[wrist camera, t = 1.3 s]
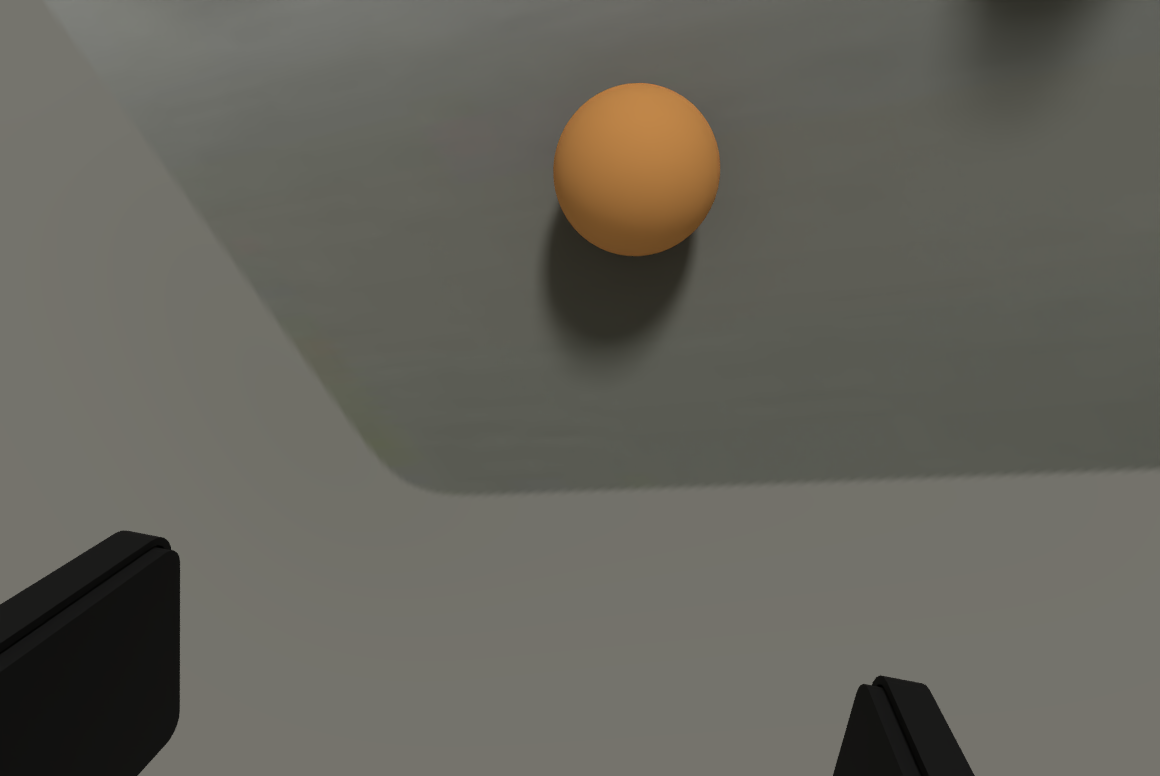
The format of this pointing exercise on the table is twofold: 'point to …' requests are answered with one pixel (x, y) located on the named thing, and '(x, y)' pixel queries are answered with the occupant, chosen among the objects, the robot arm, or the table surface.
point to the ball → (636, 169)
